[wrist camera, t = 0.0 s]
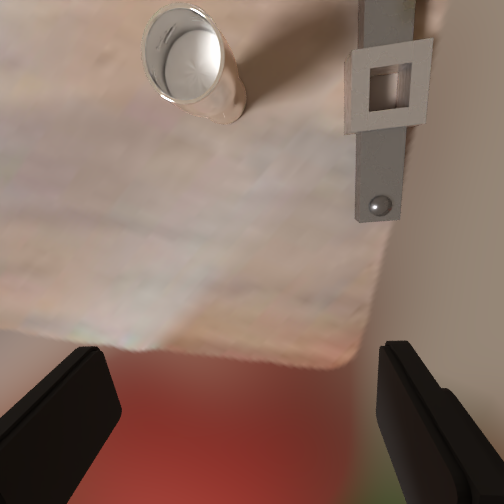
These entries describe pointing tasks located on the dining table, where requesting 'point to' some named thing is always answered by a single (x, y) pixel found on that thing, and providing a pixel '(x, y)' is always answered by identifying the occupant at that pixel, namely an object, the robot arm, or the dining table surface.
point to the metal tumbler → (192, 63)
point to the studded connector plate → (384, 121)
